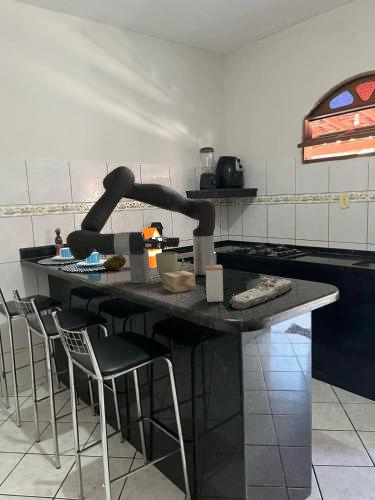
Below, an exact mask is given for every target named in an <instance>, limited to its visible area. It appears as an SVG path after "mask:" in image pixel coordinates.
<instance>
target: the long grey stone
mask: <svg viewBox="0 0 375 500" xmlns="http://www.w3.org/2000/svg"><path fill="white" fill-rule="evenodd" d="M259 281H260V282H259V283H257V284H256V286H255V287H254V288H250V289H248V290H245V291H243V292H241V293H238V294H236V295H232V296H231V299H230V300H229V304H230V305H231V307H232V308H234V309H238V310H239V309H240V310H243V309H244V310H245V309H248V308H249V307H250V308H251V307H253V306H256V305H259V304H262V303H265V302H266V301H270V300H272V299H275V298H276V297H277V296H280V295H281V296H282V294H284V293H286V292H288V290H290V289H291V288H292V287H293V282H292V281H291V280H289V279H284V278H280V279H278V278H276V277H273V276H270V277H266V276H264V277H261V278H260V279H259Z"/></svg>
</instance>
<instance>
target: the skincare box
mask: <svg viewBox="0 0 375 500" xmlns="http://www.w3.org/2000/svg"><path fill="white" fill-rule="evenodd" d="M128 264H129V273H130V281H131V282H130V283H131V284H146V283H148V282H149V281H151V279H152V276H151V268H150V263H149V252H148V250H147V249H145V253H144V254H143V255H128Z"/></svg>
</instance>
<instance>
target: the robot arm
mask: <svg viewBox="0 0 375 500" xmlns="http://www.w3.org/2000/svg"><path fill="white" fill-rule="evenodd" d="M102 180H103V181H102V186H103V189H104V192H103V193H102V195H101V196H100V197H99V198H98V200H97V201H96V202H95V203H94V204H93V205H92V206H91V208H90V209H89V210H88V212H87V213H86V215H85V216H84V218H83V219H82V221H81V223H80V229H75V230H74V231H72V232H69V233H68V235H67V237H66V245H67V247H68V249H69V252H70V253H71V255H72V257H73V258H74V259H75V260H78V261H84V260H87V259H88V258H90V257H91V255H92V254H93V253H94V251H96V252H97V253H99V255H101V256H102V255H103V256H115V255H122V256H129V255H143V254H144V253H145V249H147V250H148V249H150V250H153V249H162V250H164V249H167V248H178V247H179V246H180V245H179V244H180V237H176V236H175V237H167V236H159V237H154V236H151V237H149V239H145V235H144V233H143V232H142V231H127V232H123V231H122V232H117V233H115V232H114V233H101V232H102V230H103V228H104V227H105V225H106V223H107V222H108V220H109V218H110V217H111V215H112V214H113V212H114V211H115V209H116V207H117V206H118V205H119V203H120V202H121V200H122V199H123V198H124V199H128V200H133V201H137V202H140V203H142V204H146V205H150V206H152V207H155V208H159V209H161V210H166V211H168V212H169V211H170V212H174V213H179V214H181V215H184V216H186V217H188V218H190V219H192V220H196V221H198V225H197V227H196V228H194V229H193V230H192V239H193V241H192V243H193V244H192V245H193V247H192V249H193V271H194V273H193V274H195V276H206V268H205V265H217V252H215V241H214V239H215V237H214V235H215V234H214V232H215V228H216V207H215V204H214V203H215V202H213V201H212V200H211V199H205V198H204V199H203V198H202V199H193V198H190V197H186V196H183V195H182V194H180V193H179V192H178V191H177V190H176V189H173V188H171V187H168V186H166V185H163V184H158V183H137V182H136V178H135V174H134V172H133V170H132V169H131V168H129V167H128V166H125V165H124V166H123V165H121V166H120V165H119V166H118V167H115V168H114V169H113V170H111V171H110V172H108V174H106V175H105V176H104V178H103V179H102Z"/></svg>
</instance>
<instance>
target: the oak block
mask: <svg viewBox="0 0 375 500" xmlns="http://www.w3.org/2000/svg"><path fill="white" fill-rule="evenodd" d="M163 277H164V284H163V288H164V289H165V290H167V291H169V292H170V293H171V292H172V293H181V292H186V291H187V292H188V291H193V290H196V274H194V273H193V272H190V271H187V270H180V271H178V270H177V271H176V272H169V273H163Z"/></svg>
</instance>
